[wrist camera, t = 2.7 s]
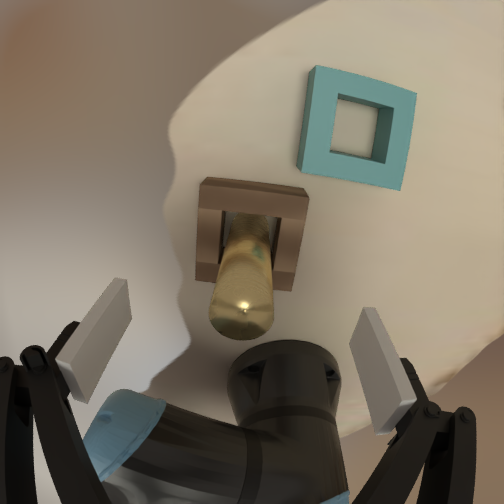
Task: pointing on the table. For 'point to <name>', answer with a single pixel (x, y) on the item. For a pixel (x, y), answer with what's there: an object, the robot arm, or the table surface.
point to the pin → (244, 281)
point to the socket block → (386, 137)
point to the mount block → (252, 202)
